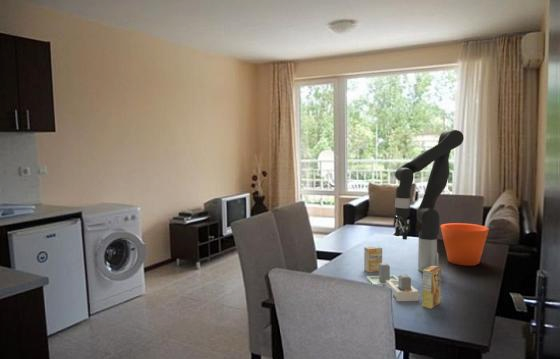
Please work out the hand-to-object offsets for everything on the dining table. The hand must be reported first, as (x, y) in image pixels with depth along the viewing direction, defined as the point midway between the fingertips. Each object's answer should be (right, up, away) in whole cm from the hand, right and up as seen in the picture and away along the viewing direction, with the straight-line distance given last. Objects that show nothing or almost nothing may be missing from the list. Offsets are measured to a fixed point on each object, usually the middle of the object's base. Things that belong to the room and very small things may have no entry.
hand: (400, 237), depth 212 cm
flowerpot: (+41, -17, +20) cm, 49 cm away
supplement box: (-14, -19, +2) cm, 23 cm away
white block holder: (-9, -21, -31) cm, 39 cm away
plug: (-13, -19, -17) cm, 28 cm away
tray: (-13, -20, -17) cm, 29 cm away
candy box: (0, -22, -44) cm, 49 cm away
